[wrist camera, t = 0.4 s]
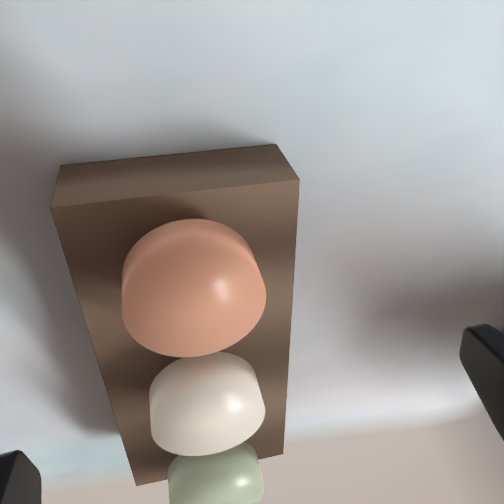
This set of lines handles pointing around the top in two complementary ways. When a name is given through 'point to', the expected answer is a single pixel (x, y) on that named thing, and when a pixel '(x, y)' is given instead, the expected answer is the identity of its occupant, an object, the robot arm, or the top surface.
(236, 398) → the button cream
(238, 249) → the button terracotta
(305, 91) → the top surface
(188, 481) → the button sage
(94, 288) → the console
